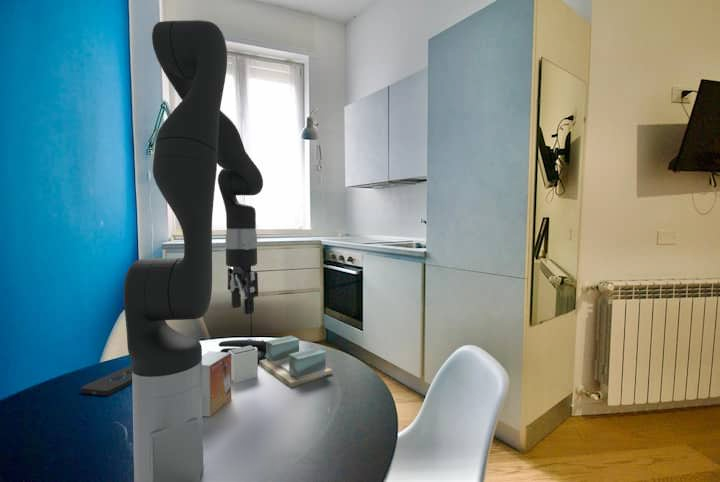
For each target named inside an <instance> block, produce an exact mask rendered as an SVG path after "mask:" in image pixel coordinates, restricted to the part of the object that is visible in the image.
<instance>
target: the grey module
mask: <svg viewBox="0 0 720 482" xmlns="http://www.w3.org/2000/svg"><path fill="white" fill-rule="evenodd" d="M235 348H236V349H231V350H230V351H228V353H231V383H233V384H237V383H241V382H244V381H248V380H252V379H254V378H257V377H258V376H259V375H258V373H259V372H258V371H259V369H258V367H259V366H258V352H257V349H256V347H252V346H251V345H250V346H245V347H235Z"/></svg>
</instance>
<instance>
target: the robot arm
mask: <svg viewBox="0 0 720 482" xmlns="http://www.w3.org/2000/svg"><path fill="white" fill-rule="evenodd" d="M151 43H152V47H153V51H154V53H155V57H156V59H157V61H158V63H159V65H160V67H161V69H162V71H163V73H164V75H165V76H166V78H167V80H168V81H169V82H170V84H171V86H172V87H173V88H174V90H175V92H176V94H177V95H178V96H179V98H180V100H181V101H180V103H178V105H177V106H176V107H175V108H174V109H173V110H172V112H171V113H170V114H169V115H168V117H167V118H166V119H165V120H164V121H163V123H162V125H161V126H160V127H159V129H158V132H157V135H156V137H155V144H154V153H153V163H152V175H153V179H154V182H155V184H156V185H157V188H158V190H159V191H160V193H161V195H162V196H163V199H165V201H166V203H167V204H168V205H169V207H170V209H171V210H172V212H173V214H174V216H175V217H176V220H177V222H178V223H179V225H180V229H181V232H182V235H183V244H184V245H183V246H184V247H183V249H184V252H183V257H176V258H175V257H165V258H164V257H157V258H141V259H137V260H136V261H134V262H133V263H132V264H131V265H130V266H129V268H128V270H127V273H126V275H125V279H124V284H123V304H124V306H123V307H124V316H125V328H126V329H125V330H126V339H127V340H126V341H127V342H126V344H127V353H128V356H129V358H130V361H131V365H132V384H131V385H132V391H131V392H132V430H133V431H132V435H133V439H132V440H133V441H132V442H133V474H134V475H133V479H134V481H133V482H201V475H202V473H203V471H204V466H205V465H204V423H203V420H204V419H203V418H204V416H203V404H202V356H203V350H202V349H203V348H202V343H201V341H200V340H199V339H196V338H195V337H192V336H190V335H187V334H184V333H182V332H178V331H177V330H175V329H174V328H172V327H171V326H170V325H169V324H168V323H167V321H181V320H182V321H183V320H197V319H201V318H203V317H204V316H205V315H206V313H207V312H208V309H209V307H210V302H211V299H212V291H213V213H214V211H213V210H214V200H215V199H214V198H215V187H216V180H217V184H218V188H219V191H220V194H221V197H222V201H223V204H224V209H225V220H226V224H225V225H226V233H225V265H226V266H227V267H228V268H227V290H228V291H229V292H230V296H231V298H230V300H231V308H233V309H236V308H241V307H242V299H241V297H242V296H243V314H244V315H252V314H253V313H254V312H255V311H254V310H255V305H254V303H255V298H256V297H259V278H258V272H257V271H252V267H253V266H254V267H255V266H257V264H258V236H257V230H256V229H257V228H256V227H257V225H256V223H257V221H256V216H257V215H256V208H255V207H254V206H252V205H248V204H243V203H240V202H239V200H238V198H237V196H256V195H258V194H260V193H261V191H262V190H263V186H264V179H263V175H262V173H261V171H260V169H259V168H258V167H257V165H256V164H255V162H254V161H253V160H252V159H251V157H250V156H249V154H248V153H247V151H246V148H245V146H244V143H243V140H242V137H241V134H240V132H239V130H238V128H237V126H236V125H235V124H234V122H233V121H232V120H231V118H230V117H228V116H227V115H226V114H225V113H224V112H223V111H222V110H221V107H222V101H223V95H224V88H225V83H226V76H227V70H228V48H227V42H226V38H225V36H224V33H223V31H222V30H221V28H220V27H219V26H218V25H217V24H216V23H214V22H212V21H209V20H205V19H204V20H203V19H189V20H188V19H187V20H185V19H184V20H183V19H182V20H162V21H159V22H156V24H155V25H154V26H153V28H152V32H151ZM217 165H218V166H219V167H221V168H222V169H220V171H219V173H218V177H217V171H218V170H217V167H218V166H217Z"/></svg>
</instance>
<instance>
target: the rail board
mask: <svg viewBox="0 0 720 482" xmlns="http://www.w3.org/2000/svg"><path fill="white" fill-rule="evenodd" d="M265 342H266V357H265V358H264V359H262V360H260V361H259V366H261V367H262V368H263V369H264V370H266V371H268V372H269V373H270V374H271V375H273V376H274V377H275V378H277V379H278V380H279V381H281V382H282V383H284V384H285V385H287V386H288V387H290V388H294V387H296V386H299V385H300V386H301V385H303V384H305V383H308V382H309V383H310V382H312V381H315V380H318V379H321V378H324V377H328V376H330V375H332V374H333V369H332V368H330V367H329V366H326V365H327V364H326V361H327V358H326V354H327V353H326V351H325V350H322V349H320V348H318V347H312V348H309V349H308V348H307V349H304V350H300V339H299V338H297V337H296V336H293V335H287V336H283V337H278V338H273V339H269V340H266V341H265ZM327 375H328V376H327Z"/></svg>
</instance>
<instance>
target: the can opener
mask: <svg viewBox="0 0 720 482" xmlns="http://www.w3.org/2000/svg"><path fill="white" fill-rule="evenodd" d="M250 345H251V346H252V347H254V348H256V349H257V352H258V362H259V361H260V360H264V359H266V358H267V357H266V341H265V340H264V339H263V340H262V339H261V340H253V339H252V338H248V339H247V340H246V339H233V340H225V341H224V340H223V341H221V342H220V341H219V343H218V346H219V347H221V348H222V347H223V348H222V349H220V351H219V352H227V353H228V351H230V350H231V349H236V348H240V347H245V346H250ZM224 347H225V348H224ZM227 347H229V348H227Z"/></svg>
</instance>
